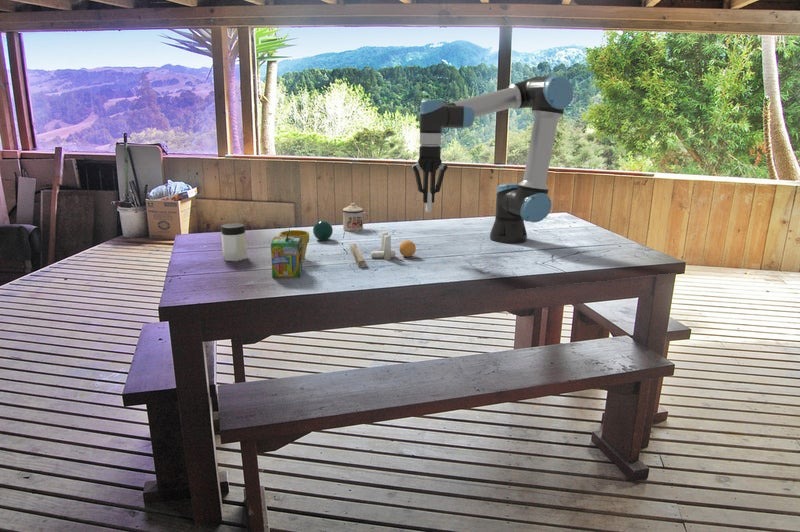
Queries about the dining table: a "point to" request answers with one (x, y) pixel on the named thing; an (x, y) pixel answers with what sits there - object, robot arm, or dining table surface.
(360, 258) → the brown wooden bar
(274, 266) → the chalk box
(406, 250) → the ball
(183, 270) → the dining table surface
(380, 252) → the front pin
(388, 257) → the pin
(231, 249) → the jar
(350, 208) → the teacup with lid
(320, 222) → the sphere
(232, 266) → the dining table surface
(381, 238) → the pin
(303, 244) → the plant pot
